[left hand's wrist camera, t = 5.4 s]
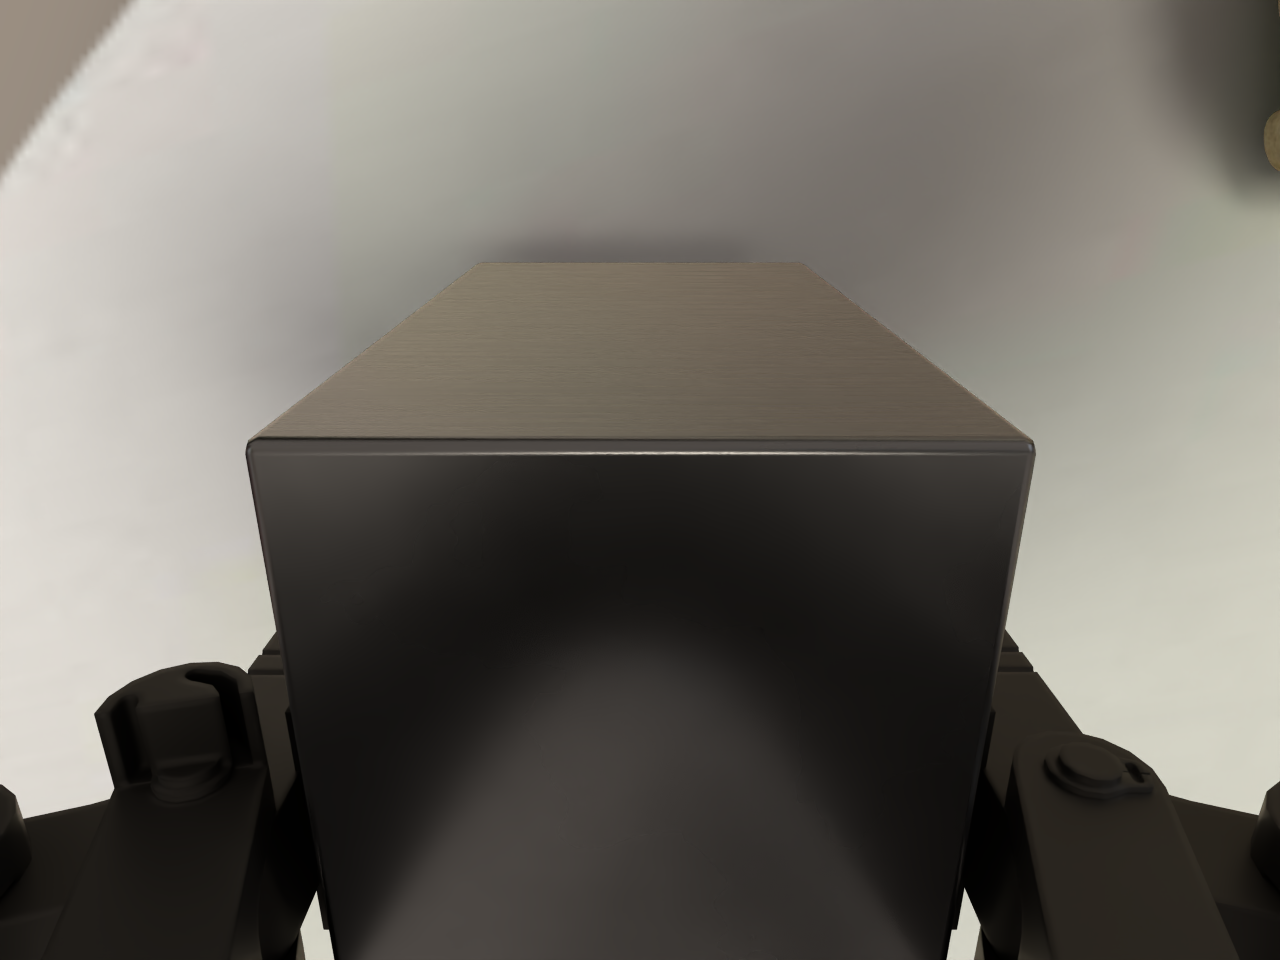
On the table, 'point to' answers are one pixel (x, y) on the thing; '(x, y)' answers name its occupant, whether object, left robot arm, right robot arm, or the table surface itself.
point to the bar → (640, 620)
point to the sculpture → (1273, 135)
